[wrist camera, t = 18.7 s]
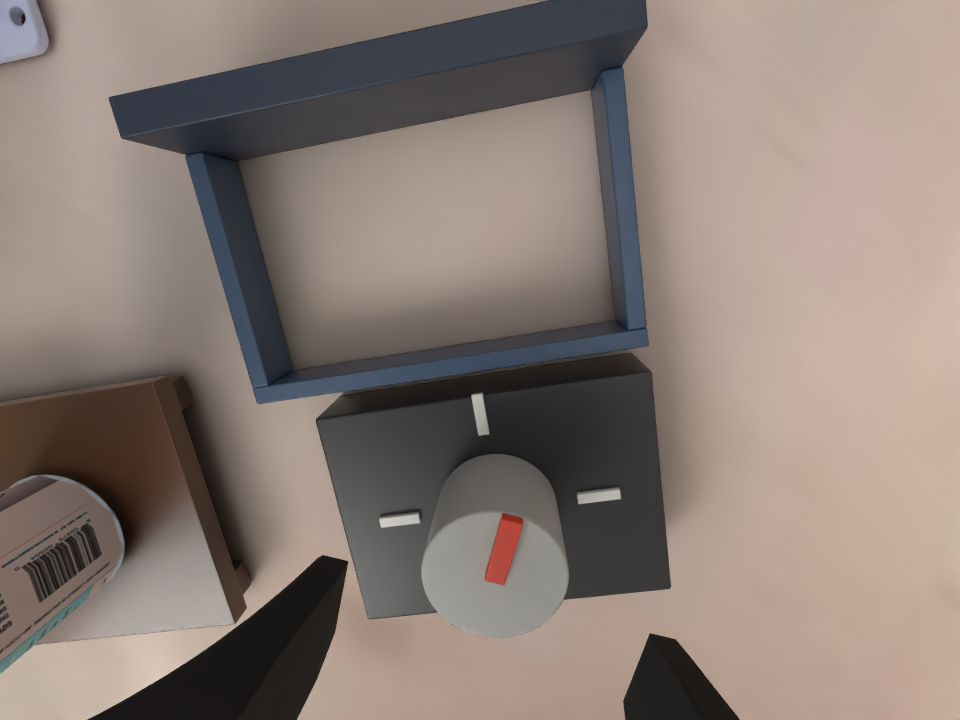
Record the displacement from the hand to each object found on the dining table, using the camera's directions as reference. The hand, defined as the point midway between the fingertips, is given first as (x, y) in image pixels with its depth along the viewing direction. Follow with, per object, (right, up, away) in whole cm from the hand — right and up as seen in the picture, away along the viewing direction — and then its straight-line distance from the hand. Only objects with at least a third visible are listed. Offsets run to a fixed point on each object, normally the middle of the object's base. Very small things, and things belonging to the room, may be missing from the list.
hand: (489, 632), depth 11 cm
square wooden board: (-15, +1, +9) cm, 18 cm away
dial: (0, +1, +5) cm, 5 cm away
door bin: (-2, +10, +6) cm, 12 cm away
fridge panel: (+1, +2, +8) cm, 8 cm away
